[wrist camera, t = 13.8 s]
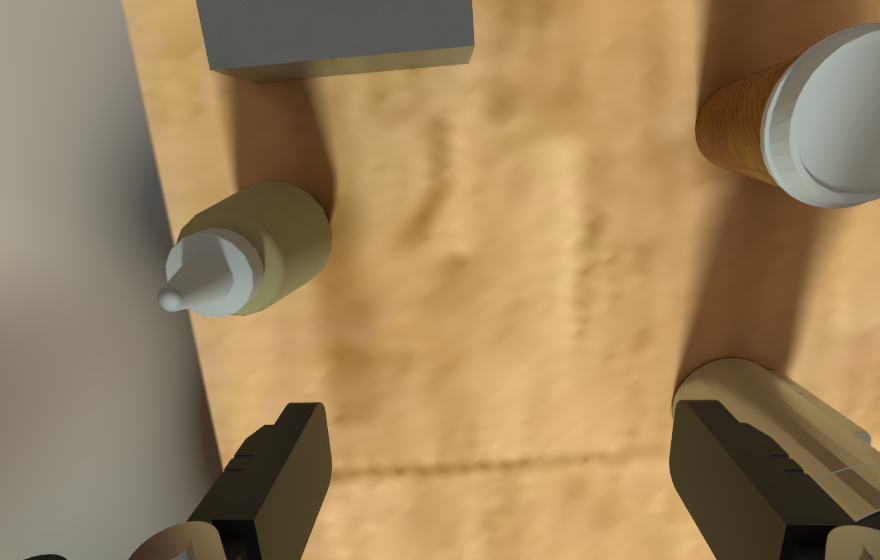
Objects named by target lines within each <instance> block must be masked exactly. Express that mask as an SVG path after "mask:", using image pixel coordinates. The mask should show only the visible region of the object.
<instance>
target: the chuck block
mask: <svg viewBox="0 0 880 560" xmlns="http://www.w3.org/2000/svg"><path fill="white" fill-rule="evenodd" d="M196 3H197V8H198V12H199V17H200V22H201V27H202V32H203V37H204V42H205V47H206V52H207V57H208V62H209V67H210V70H212V71H215V72H219V73H222V74H226V75H229V76H233V77H236V78H239V79H243V80H246V81H250V82H253V83H258V82H269V81H280V80H291V79H302V78H313V77H324V76H335V75H347V74H358V73H369V72H380V71H391V70H402V69H413V68H424V67H435V66H446V65H457V64H468V63H469V61H470V58H471V55H472V52H473V49H474V30H473V12H472V0H196Z"/></svg>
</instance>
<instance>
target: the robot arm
mask: <svg viewBox="0 0 880 560" xmlns="http://www.w3.org/2000/svg"><path fill="white" fill-rule="evenodd" d="M672 414H673V420H674V423H673V431H672V440H671V449H670V457H669V466H670V474H671V478H672V481H673V484H674V487H675V489H676V491H677V493H678V494H679V496H680V498H681V499H682V501H683V503H684V504H685V506H686V508H687V510H688V511H689V513H690V515H691V516H692V518H693V520H694V522H695V523H696V525H697V527H698V528H699V530H700V532H701V534H702V535H703V537H704V539H705V540H706V542H707V544H708V545H709V547H710V549H711V551H712V552H713V554H714V556H715V557H716V559H717V560H880V452H879V451H877V450H876V449H875V448H873V447H872V446H870V444H871V437H870V435H869V434H868V433H867V432H866V431H865V430H864V429H862V428H861V427H859V426H858V425H856V424H855V423H854V422H852V421H851V420H849V419H848V418H846V417H845V416H843V415H842V414H841V413H839V412H838V411H836V410H835V409H833V408H832V407H831V406H829V405H828V404H826V403H825V402H823V401H822V400H820V399H819V398H818V397H816V396H815V395H813V394H812V393H810V392H809V391H808V390H806V389H805V388H803V387H802V386H800V385H799V384H797V383H796V382H795V381H793V380H792V379H790V378H789V377H787V376H786V375H785V374H783V373H782V372H780V371H779V370H772V371H771V370H766V369H764V368H762V367H761V366H759V365H758V364H756V363H754V362H751V361H749V360H746V359H739V358H726V359H720V360H716V361H712V362H710V363H708V364H705V365H703V366H701V367H700V368H698V369H697V370H695V371H694V372H692V373H691V374H690V375H689V376H688V377H687V378H686V379H685V380H684V381H683V383H682V384H681V386H680V387H679V388H678V390H677V393H676V395H675V397H674V401H673V406H672ZM331 472H332V458H331V450H330V442H329V435H328V427H327V420H326V412H325V408H324V405H323V404H322V403H321V402H313V403H289V404H287V406H286V407H285V409H284V410H283V412H282V413H281V415H280V416H279V418H278V419H277V421H276V422H275V424H274V425H264V426H263V427H261V428H260V429H259V430H257V431H256V432H255V433H253V434H252V435H250V436H249V437H248V438H246V440H245V441H244V442H243V444H242V445H241V447H240V448H239V449H238V451H237V452H236V453H235V455H234V458H232V459H231V460H230V462H229V463H228V465H227V466H226V467H225V470H224V472H222V473H221V474H220V476H219V477H218V479H217V480H216V481H215V483H214V484H213V485H212V487H211V488H210V490H209V491H208V492H207V494H206V495H205V497H204V498H203V500H202V501H201V502H200V504H199V505H198V506H197V508H196V509H195V510H194V512H193V513H192V515H191V516H190V517H189V519H188V520H187V522H184V523H180V524H176V525H174V526H171V527H168V528H166V529H164V530H162V531H160V532H158V533H157V534H155V535H153V536H152V537H150V538H149V539H148V540H146V541H145V542H144V543H143V544H141V545H140V546H139V547H138V549H136V550H135V552H134V553H133V554H132V555H131V557H130V558H129V560H301V557H302V554H303V552H304V549H305V547H306V544H307V542H308V539H309V536H310V534H311V531H312V529H313V526H314V524H315V521H316V518H317V516H318V513H319V511H320V508H321V506H322V503H323V500H324V498H325V495H326V493H327V490H328V487H329V484H330V479H331ZM25 560H67V559H66V558H64V557H62V556H59V555H54V554H47V555H39V556H35V557H31V558H28V559H25Z"/></svg>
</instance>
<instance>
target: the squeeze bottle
mask: <svg viewBox="0 0 880 560" xmlns="http://www.w3.org/2000/svg"><path fill="white" fill-rule="evenodd" d="M331 239H332V229H331V227H330V224H329V222H328V219H327V217H326V214H325V212H324V209H323V208H322V207H321V206H320V205H319V204H318V203H317V202H316V201H315V200H314V198H313V197H312V196H311V195H310V194H309V193H308V192H306V191H304V190H302V189H300V188H298V187H296V186H294V185H292V184H290V183H288V182H275V181H263V182H260V183H258V184H255V185H252V186H249V187H246V188H244V189H242V190H240V191H239V192H237V193H235V194H233V195H231V196H229V197H228V198H226V199H224V200H222V201H220V202H219V203H217V204H215V205H213V206H211V207H209V208H208V209H206V210H204V211H202V212H200V213H198V214H197V215H195V216H194V217H193V218H192V219H191V220H190V221H189V222H188V223H187V224H186V225H185V226H184V227H183V228H182V229H181V232H180V235H179V237H178V240H177V243H176V245H175V246H174V247H173V248H172V249H171V250H170V253H169V256H168V259H167V262H166V276H167V283H166V284H165V286H164V287H163V288H162V289H161V290H160V291H159V293H158V302H159V304H160V305H161V306H162V307H163V308H164V309H165V310H168V311H178V310H182V309H186V308H188V309H189V310H192V311H194V312H196V313H198V314H201V315H203V316H210V317H224V316H227V315H235V316H246V315H249V314H253V313H256V312H259V311H262V310H264V309H266V308H268V307H269V306H271V305H272V304H274V303H276V302H277V301H279V300H280V299H282V298H283V297H285V296H287V295H288V294H290V293H291V292H293V291H295V290H296V289H298V288H299V287H301V286H303V285H304V284H306V283H307V282H309V281H310V280H311V279H312V278H313V277H314V276H316V275H317V274H318V273H319V272H320V271H321V270H322V269H323V268H324V266H325V264H326V261H327V259H328V257H329V255H330V253H331Z"/></svg>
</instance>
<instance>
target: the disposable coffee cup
mask: <svg viewBox="0 0 880 560" xmlns="http://www.w3.org/2000/svg"><path fill="white" fill-rule="evenodd" d="M696 140H697V144H698V147H699V149H700V151H701V153H702V154H703V155H704V156H705V158H706V159H707V160H709V161H710V162H711V163H713V164H715V165H717V166H720V167H723V168H726V169H729V170H732V171H735V172H737V173H740V174H743V175H746V176H749V177H751V178H754V179H757V180H760V181H763V182H766V183H768V184H771V185H774V186H777V187H780V188H782V189H783V190H785V191H786V192H787V193H788V194H789V195H790V196H791V197H793V198H795V199H797V200H799V201H801V202H804V203H806V204H809V205H812V206H816V207H821V208H836V209H837V208H846V207H852V206H856V205H860V204H863V203H866V202H868V201H872V200H876V199H879V198H880V23H871V24H861V25H857V26H853V27H849V28H845V29H843V30H840V31H838V32H835V33H833V34H831V35H829V36H828V37H826V38H824V39H823V40H821V41H820V42H818V43H816V44H815V45H813V46H812V47H810V48H809V49H808V50H807V51H806V52H805V53H803V54H801V55H798V56H796V57H793V58H791V59H789V60H786V61H784V62H781V63H779V64H777V65H774V66H772V67H769V68H767V69H764V70H762V71H760V72H757V73H755V74H752V75H750V76H747V77H745V78H743V79H740V80H738V81H736V82H733V83H730V84H728V85H725V86H724V87H722V88H721V89H719V90H718V91H716V92H715V93H714V94H713V95H712V96H711V97H710V98H709V99H708V100H707V101H706V103H705V104H704V106H703V107H702V109H701V111H700V113H699V116H698V119H697V123H696Z"/></svg>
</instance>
